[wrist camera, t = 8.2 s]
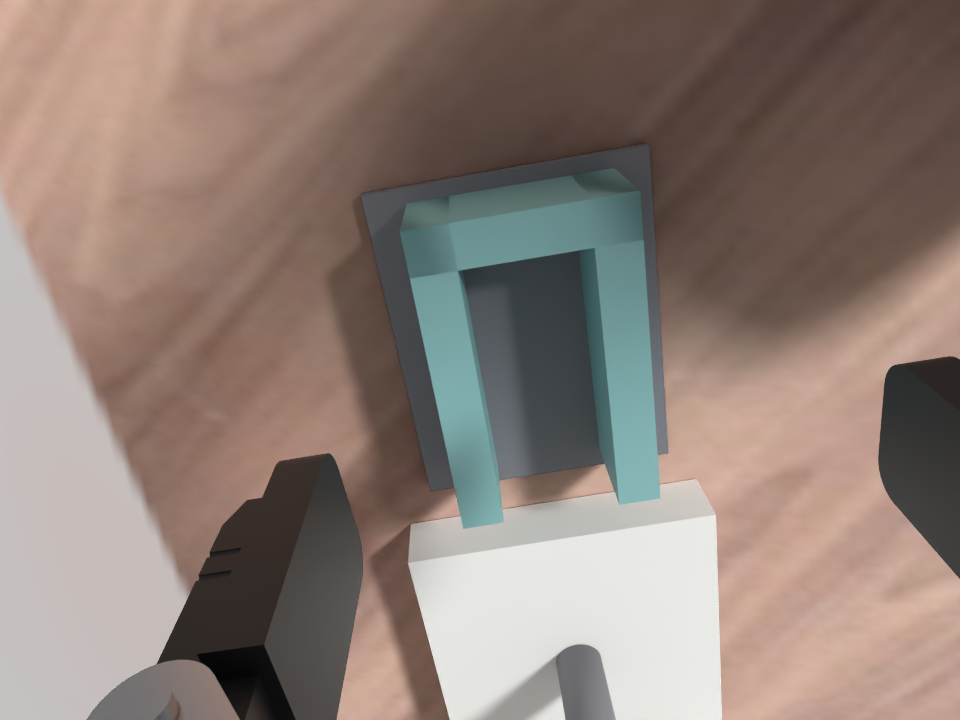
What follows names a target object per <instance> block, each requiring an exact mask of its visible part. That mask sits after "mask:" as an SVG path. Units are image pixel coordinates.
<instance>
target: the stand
mask: <svg viewBox="0 0 960 720" xmlns="http://www.w3.org/2000/svg"><path fill="white" fill-rule="evenodd" d="M502 510H503V520H504V523H499V524H492V525H486V526H479V527H473V528H466V529H463V525H462V520H461V516H458V517H452V518H445V519H439V520H433V521H426V522H420V523H414V524H411V530H410V543H409V555H408V565H409V569H410V573H411V576H412V580H413V584H414V588H415V591H416V595H417V599H418V603H419V606H420V610H421V614H422V618H423V621H424V625H425V629H426V633H427V636H428V640H429V644H430V648H431V651H432V655H433V659H434V662H435V666H436V670H437V674H438V677H439V681H440V685H441V689H442V692H443V696H444V700H445V704H446V707H447V711H448V715H449V719H450V720H722V706H721V672H720V638H719V604H718V570H717V537H716V514H715V512H714V510H713V509H712V507H711V505H710V503H709V501H708V499H707V497H706V496H705V494H704V492H703V490H702V488H701V486H700V485H699V483H698V481H697V479H692V480H686V481H679V482H673V483H667V484H660V499H654V500H648V501H641V502H635V503H628V504H622V505H619V502H618V500H617V497H616V494H615V492H610V493H603V494H597V495H591V496H584V497H578V498H572V499H565V500H559V501H553V502H546V503H540V504H534V505H528V506H521V507H515V508H509V509H502Z"/></svg>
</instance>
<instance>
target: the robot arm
mask: <svg viewBox="0 0 960 720" xmlns="http://www.w3.org/2000/svg"><path fill="white" fill-rule="evenodd" d="M878 462H879V471H880V475H881V479H882V482H883V485H884V487H885V490H886V492H887V493H888V495H889V497H890V498H891V500H892V501H893V503H894V504H895V505H896V506H897V507H898V508H899V509H900V511H901V512H902V513H903V514H904V515H905V516H906V518H907V519H908V520H909V521H910V522H911V523H912V524H913V526H914V527H915V528H916V529H917V530H918V531H919V532H920V534H921V535H922V536H923V537H924V538H925V539H926V540H927V542H928V543H929V544H930V545H931V546H932V547H933V549H934V550H935V551H936V552H937V553H938V554H939V555H940V557H941V558H942V559H943V560H944V561H945V562H946V563H947V565H948V566H949V567H950V568H951V569H952V570H953V572H954V573H955V574H956V575H957V576H958V577H959V578H960V359H958V358H956V357H950V356H948V357H942V358H936V359H929V360H923V361H917V362H911V363H904V364H898V365H894V366H892V367H891V368H890V369H889V370H888V372H887V374H886V378H885V384H884V396H883V408H882V419H881V431H880V443H879V455H878ZM362 576H363V556H362V547H361V541H360V537H359V533H358V530H357V527H356V524H355V520H354V517H353V514H352V511H351V508H350V504H349V501H348V498H347V495H346V492H345V489H344V485H343V482H342V479H341V476H340V473H339V469H338V466H337V464H336V461H335V459H334V458H333V456H332V455H331V454H328V453H327V454H321V455H315V456H308V457H302V458H296V459H290V460H283V461H279V462H278V463H277V464H276V466H275V469H274V471H273V473H272V476H271V478H270V480H269V483H268V485H267V488H266V490H265V492H264V495H263V497H262V498H258V499H252V500H247V501H246V502H245V503H244V504H243V505H242V506H241V507H240V508H239V509H238V510H237V511H236V512H235V513H234V514H233V515H232V516H231V517H230V518H229V519H228V520H227V521H226V522H225V523H224V524H223V525H222V527H221V529H220V532H219V534H218V536H217V538H216V540H215V542H214V544H213V546H212V548H211V551H210V558H207V559H206V561H205V563H204V565H203V567H202V570H201V572H200V574H199V581H196V582H195V584H194V586H193V589H192V591H191V593H190V595H189V597H188V599H187V601H186V603H185V605H184V608H183V610H182V612H181V614H180V616H179V618H178V620H177V622H176V624H175V627H174V629H173V631H172V633H171V635H170V637H169V639H168V641H167V643H166V646H165V648H164V650H163V652H162V654H161V656H160V658H159V661H158V663H157V665H154V666H152V667H149V668H147V669H144V670H142V671H140V672H139V673H137V674H135V675H133V676H131V677H130V678H128V679H127V680H125V681H124V682H122V683H121V684H120V685H118V686H117V687H116V688H115V689H113V690H112V691H111V692H110V693H109V694H108V695H107V696H106V697H105V698H104V699H103V700H102V701H101V702H100V703H99V704H98V705H97V706H96V708H95V709H94V710H93V711H92V713H91V714H90V716H89V717H88V719H87V720H336V719H337V713H338V708H339V702H340V697H341V691H342V686H343V680H344V675H345V670H346V664H347V659H348V653H349V648H350V642H351V637H352V631H353V626H354V620H355V615H356V609H357V604H358V599H359V593H360V588H361V582H362Z"/></svg>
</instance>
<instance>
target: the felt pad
mask: <svg viewBox="0 0 960 720" xmlns="http://www.w3.org/2000/svg"><path fill="white" fill-rule="evenodd" d="M611 168H615V169H616V170H617V171H618V172H619V173H621V174H622V175H623V176H624V177H625V178H626V179H627V180H629V181H630V182H631V183H632V184H633V185H634V186H635V187H637V188H638V189H639V190H640V192H641V208H642V223H643V239H644V254H645V269H646V285H647V300H648V315H649V331H650V346H651V361H652V377H653V392H654V407H655V423H656V438H657V453H658V455H661V454H667V453H668V438H667V422H666V406H665V390H664V374H663V358H662V341H661V325H660V309H659V293H658V277H657V260H656V244H655V228H654V212H653V196H652V179H651V163H650V147H649V145H647V144H640V145H634V146H628V147H623V148H617V149H611V150H606V151H600V152H594V153H589V154H583V155H577V156H571V157H566V158H560V159H554V160H549V161H543V162H537V163H532V164H526V165H520V166H514V167H509V168H503V169H497V170H492V171H486V172H480V173H474V174H469V175H463V176H457V177H452V178H446V179H440V180H435V181H429V182H423V183H417V184H412V185H406V186H400V187H395V188H389V189H383V190H378V191H372V192H366V193H362V195H361V199H362V203H363V208H364V212H365V216H366V220H367V225H368V229H369V233H370V237H371V241H372V246H373V250H374V254H375V258H376V263H377V267H378V271H379V275H380V280H381V284H382V288H383V292H384V296H385V301H386V305H387V309H388V313H389V318H390V322H391V326H392V330H393V334H394V339H395V343H396V347H397V351H398V356H399V360H400V364H401V368H402V373H403V377H404V381H405V385H406V389H407V394H408V398H409V402H410V406H411V411H412V415H413V419H414V423H415V427H416V432H417V436H418V440H419V444H420V449H421V453H422V457H423V461H424V466H425V470H426V474H427V478H428V482H429V487H430V491H435V490H442V489H448V488H454V483H453V478H452V474H451V469H450V464H449V460H448V455H447V450H446V446H445V441H444V436H443V432H442V427H441V422H440V418H439V413H438V408H437V404H436V399H435V394H434V390H433V385H432V380H431V375H430V371H429V366H428V361H427V357H426V352H425V347H424V343H423V338H422V333H421V329H420V324H419V319H418V315H417V310H416V305H415V301H414V296H413V291H412V287H411V282H410V277H409V273H408V268H407V263H406V259H405V254H404V249H403V245H402V240H401V235H400V228H401V224H402V220H403V216H404V212H405V208H406V204H407V203H412V202H417V201H423V200H429V199H435V198H441V197H447V196H453V195H458V194H464V193H470V192H476V191H482V190H488V189H494V188H499V187H505V186H511V185H517V184H523V183H529V182H535V181H540V180H546V179H552V178H558V177H564V176H570V175H576V174H581V173H587V172H593V171H599V170H605V169H611ZM463 276H464V281H465V287H466V292H467V298H468V303H469V309H470V314H471V320H472V326H473V331H474V337H475V342H476V348H477V353H478V359H479V364H480V370H481V376H482V381H483V387H484V392H485V398H486V403H487V409H488V415H489V420H490V426H491V431H492V437H493V442H494V448H495V453H496V459H497V465H498V473H499V480H504V479H511V478H517V477H523V476H529V475H536V474H542V473H548V472H554V471H561V470H567V469H573V468H579V467H586V466H592V465H598V464H604V460H603V457H602V454H601V451H600V446H599V437H598V427H597V418H596V408H595V399H594V389H593V380H592V370H591V361H590V351H589V342H588V333H587V323H586V314H585V304H584V295H583V285H582V276H581V266H580V257H579V251H573V252H567V253H561V254H555V255H549V256H543V257H537V258H531V259H525V260H519V261H513V262H507V263H501V264H495V265H489V266H483V267H477V268H471V269H465V270H463Z"/></svg>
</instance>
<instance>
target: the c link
mask: <svg viewBox="0 0 960 720" xmlns="http://www.w3.org/2000/svg"><path fill="white" fill-rule="evenodd" d="M400 235H401V240H402V245H403V249H404V254H405V259H406V263H407V268H408V273H409V277H410V282H411V287H412V291H413V296H414V301H415V305H416V310H417V315H418V319H419V324H420V329H421V333H422V338H423V343H424V347H425V352H426V357H427V361H428V366H429V371H430V375H431V380H432V385H433V390H434V394H435V399H436V404H437V408H438V413H439V418H440V422H441V427H442V432H443V436H444V441H445V446H446V450H447V455H448V460H449V464H450V469H451V474H452V478H453V483H454V488H455V492H456V497H457V502H458V506H459V511H460V516H461V520H462V525H463V529H466V528H473V527H479V526H486V525H492V524H499V523H504V520H503V510H502V501H501V492H500V483H499V473H498V465H497V459H496V453H495V448H494V442H493V437H492V431H491V426H490V420H489V415H488V409H487V403H486V398H485V392H484V387H483V381H482V376H481V370H480V364H479V359H478V353H477V348H476V342H475V337H474V331H473V326H472V320H471V314H470V309H469V303H468V298H467V292H466V287H465V281H464V276H463V270H465V269H471V268H477V267H483V266H489V265H495V264H501V263H507V262H513V261H519V260H525V259H531V258H537V257H543V256H549V255H555V254H561V253H567V252H573V251H579V257H580V266H581V276H582V285H583V295H584V304H585V314H586V323H587V333H588V342H589V351H590V361H591V370H592V380H593V389H594V399H595V408H596V418H597V427H598V437H599V446H600V451H601V454H602V457H603V460H604V463H605V465H606V468H607V471H608V474H609V477H610V480H611V483H612V485H613V488H614V491H615V494H616V497H617V500H618V502H619V505H622V504H628V503H635V502H641V501H648V500H654V499H660V484H659V469H658V453H657V438H656V423H655V407H654V392H653V377H652V361H651V346H650V331H649V315H648V300H647V285H646V269H645V254H644V239H643V223H642V208H641V192H640V190H639V189H638V188H637V187H635V186H634V185H633V184H632V183H631V182H630V181H629V180H627V179H626V178H625V177H624V176H623V175H622V174H621V173H619V172H618V171H617V170H616V169H615V168H611V169H605V170H599V171H593V172H587V173H581V174H576V175H570V176H564V177H558V178H552V179H546V180H540V181H535V182H529V183H523V184H517V185H511V186H505V187H499V188H494V189H488V190H482V191H476V192H470V193H464V194H458V195H453V196H447V197H441V198H435V199H429V200H423V201H417V202H412V203H407V204H406V208H405V212H404V216H403V220H402V224H401V228H400Z"/></svg>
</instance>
